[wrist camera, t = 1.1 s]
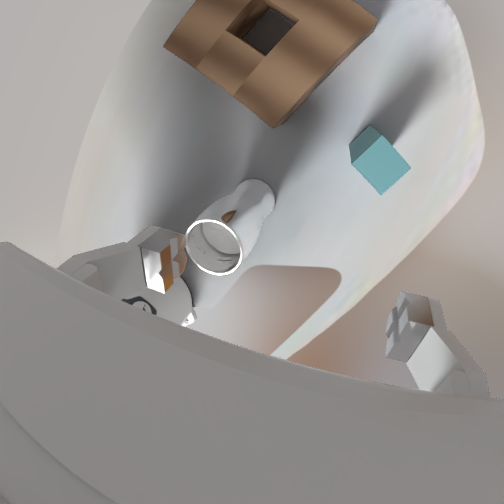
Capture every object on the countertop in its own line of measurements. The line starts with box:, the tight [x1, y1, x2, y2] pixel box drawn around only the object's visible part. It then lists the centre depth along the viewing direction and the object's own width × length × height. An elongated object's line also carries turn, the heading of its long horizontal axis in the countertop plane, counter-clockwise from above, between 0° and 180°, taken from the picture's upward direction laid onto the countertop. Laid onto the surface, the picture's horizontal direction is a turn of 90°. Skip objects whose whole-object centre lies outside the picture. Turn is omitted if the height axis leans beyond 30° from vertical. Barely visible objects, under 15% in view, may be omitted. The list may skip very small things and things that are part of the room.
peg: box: [349, 125, 411, 195], centre depth 28 cm, size 4×4×12 cm
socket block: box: [163, 0, 378, 128], centre depth 27 cm, size 18×18×6 cm
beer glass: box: [185, 179, 275, 275], centre depth 36 cm, size 7×7×15 cm
